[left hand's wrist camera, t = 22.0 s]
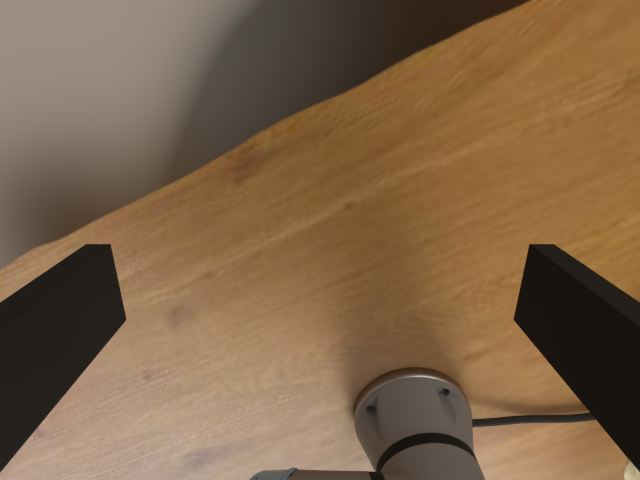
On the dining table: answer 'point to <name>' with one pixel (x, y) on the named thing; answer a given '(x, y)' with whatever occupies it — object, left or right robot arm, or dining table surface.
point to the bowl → (630, 471)
